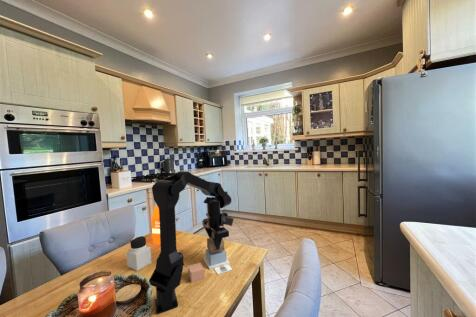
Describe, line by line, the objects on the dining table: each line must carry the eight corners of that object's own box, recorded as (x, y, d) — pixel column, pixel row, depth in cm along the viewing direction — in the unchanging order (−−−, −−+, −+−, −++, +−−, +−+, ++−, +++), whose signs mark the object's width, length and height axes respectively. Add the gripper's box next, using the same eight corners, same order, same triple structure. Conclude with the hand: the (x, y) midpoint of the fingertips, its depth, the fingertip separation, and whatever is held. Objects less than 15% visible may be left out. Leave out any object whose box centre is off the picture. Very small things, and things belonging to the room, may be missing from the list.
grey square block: (229, 263, 87) (229, 252, 87) (209, 269, 83) (209, 258, 83) (222, 254, 95) (221, 244, 95) (203, 259, 91) (203, 248, 91)
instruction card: (232, 269, 82) (232, 268, 82) (217, 274, 80) (217, 273, 80) (228, 264, 86) (228, 263, 86) (214, 268, 84) (214, 267, 84)
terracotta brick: (204, 278, 78) (204, 268, 78) (191, 283, 75) (191, 272, 75) (200, 272, 82) (200, 262, 82) (188, 276, 80) (187, 266, 80)
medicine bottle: (152, 262, 90) (150, 236, 90) (137, 271, 84) (135, 243, 84) (142, 258, 94) (140, 233, 94) (127, 266, 88) (125, 239, 87)
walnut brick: (224, 250, 87) (224, 241, 87) (211, 253, 85) (210, 244, 85) (220, 244, 93) (219, 235, 93) (207, 247, 90) (206, 238, 90)
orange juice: (167, 245, 107) (165, 207, 106) (152, 244, 109) (150, 207, 108) (175, 238, 114) (173, 203, 113) (161, 237, 116) (159, 203, 115)
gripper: (239, 213, 83) (241, 251, 84) (223, 203, 100) (224, 234, 101) (214, 218, 78) (215, 258, 79) (201, 207, 95) (202, 239, 96)
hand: (215, 246), depth 89 cm, fingers closed on walnut brick, 6 cm apart
